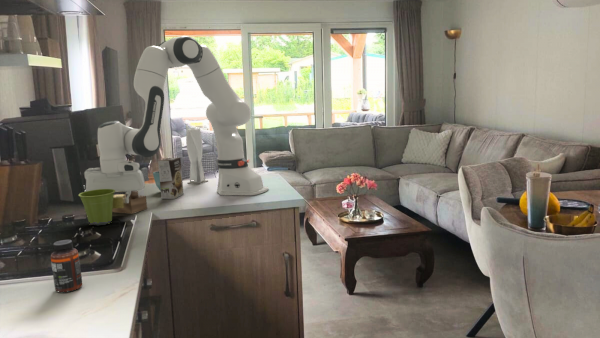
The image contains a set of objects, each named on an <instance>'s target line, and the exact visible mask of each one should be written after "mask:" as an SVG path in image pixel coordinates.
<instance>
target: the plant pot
mask: <svg viewBox="0 0 600 338" xmlns="http://www.w3.org/2000/svg"><path fill="white" fill-rule="evenodd" d="M115 193H116V192H115V190H114V189H97V190H90V191H86V190H85V191H84V192H83V191H82V192H79V194H78V195H77V196H78V197H79V198H80V200H81V203H82V204H83V207H84V212H85V213H86V219H87V221H88V223H89V222H90V223H93V222H97V223H99V222H108V221H112V220H113V212H112V207H113V198H114V195H115ZM112 222H113V221H112Z"/></svg>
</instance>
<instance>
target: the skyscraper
mask: <svg viewBox="0 0 600 338" xmlns="http://www.w3.org/2000/svg"><path fill="white" fill-rule="evenodd" d="M185 127H186V128H185V132H186V134H185V135H186V138H185V139H186V141H185V142H186V151H187V156H188V160H189V163H190V167H189V169H190V170H189V181H188V182H187V184H188V185H193V184H194V185H201V184H204V183H207V182H209V180H207V179H205V172H204V168H203V164H202V159H203V152H204V151H203V150H204V149H203V145H204V144H203V139H202V137H203V136H202V132H201V131H202V130H201V128H200V127H199V126H197V127H196V126H191V127H189V125H188V123H186V124H185ZM191 180H194V181H191Z"/></svg>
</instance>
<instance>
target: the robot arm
mask: <svg viewBox="0 0 600 338" xmlns="http://www.w3.org/2000/svg"><path fill="white" fill-rule="evenodd" d="M183 66H187V67H189V69H190V70H191V72H192V74H193V76H194V78H195V80H196V83H197V84H198V86H199V88H200V90H201V92H202V94H203V96H204V97H206V98H207V99H208V100H209V101H210V102H211V103H210V104H208V106H207V107H206V111H205V116H206V119H207V120H208V121H209V122H210V124H211V127H212V131H213V134H214V136H215V140H216V148H217V149H216V150H217V159H216V161H217V170H218V182H217V189H216V193H218V194H219V196H257V195H260V194H263V193H265V192H268V191H269V187H268V186H264V182H263V179H262V176H261V174H259V173H257V172H256V171H255V170H253V169H252V168H251V167H250V166H249V164H248V163H249V162H250V159H246V158H245V152H244V150H245V149H244V140H243V137H242V136H241V135H240V133H239V131H238V127H241V126H243V125H245V124H247V123H248V122H249V121H250V118H251V117H252V116H251V113H252V112H251V108H250V106H249V105H248V104H247V103H246V102H245V101H243V100H242V99H241V98H240V96H239V95H238V94H237V93H236V92H235V90H234V89H233V88H232V87H231V85H230V83H229V81H228V80H227V79H226V76H225V74H224V72H223V70H222V68H221V66H220V64H219V62H218V60H217V59H216V57H215V55H214V54H213V52H212V51H211V49H210V48H209V47H208V46H206V45H204V44H200V43H199V42H198V41H197V40H196V39H195V38H194V37H191V36H190V35H189V36H188V35H181V36H177V37H172V38H170V39H168V40H165V41H162V42H161V43H160V44H158V45H157V46H156V45H150V46H147V47H145V49H143V51H142V53H141V55H140V58H139V61H138V63H137V66H136V70H135V73H134V77H133V88H134V90H135V92H136V94H137V95H138V96H140V98H142V99H143V100H144V103H145V108H144V115H143V120H142V124H141V126H140V128H134V127H130V126H128V125H126V124H123V123H121V122H120V121H119V120H112V121H111V120H110V121H106V122H104V123H103V122H102V123H101V124H100V125H99V126H98V128H97V146H98V147H97V148H98V149H99V153H100V154H99V155H100V156H99V163H100V167H89V168H88V169H85V171H84V172H83V175H84V179H85V192H86V191H90V190H97V189H114V190H115V192H114V193H123V192H124V193H125V191H126V193H125V195H126V194H128V195H127V198H124V204H125V203H129V197H130V195H131V191H142V190H143V191H144V189H145V187H146V183H145V182H146V181H145V182H144V177H143V174H142V170H141V169H140V163H139V162H135V161H131V160H127V159H126V155H127V154H128V155H134V156H140V157H144V158H151V157H153V156H155V155H156V154H157V153H158V152H159V150H160V148H161V146H162V145H161V144H162V138H161V125H162V118H163V112H164V104H165V93H164V89H165V87H164V86H165V83H166V77H167V73H168V71H169V69H172V68H179V67H181V68H182V67H183Z"/></svg>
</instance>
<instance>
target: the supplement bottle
mask: <svg viewBox="0 0 600 338" xmlns="http://www.w3.org/2000/svg"><path fill="white" fill-rule="evenodd" d="M53 249H54V250H53V251H52V252H51V254H50V261H51V262H50V263H51V269H52V276H53V284H54V290H55V291H56V292H57V291H59V292H58V293H61V292H65V293H68V292H67V291H71V292H74V291H73V290H75V291H77V290H79V289H80V288H82V286H83V279H82V278H83V277H82V271H81V270H82V269H81V263H80V255H79V252H78V251H79V250H78V249H76V248H74V245H73V241H72V240H71V239H63V240H58V241H55V242H54V243H53ZM76 289H77V290H76Z"/></svg>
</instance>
